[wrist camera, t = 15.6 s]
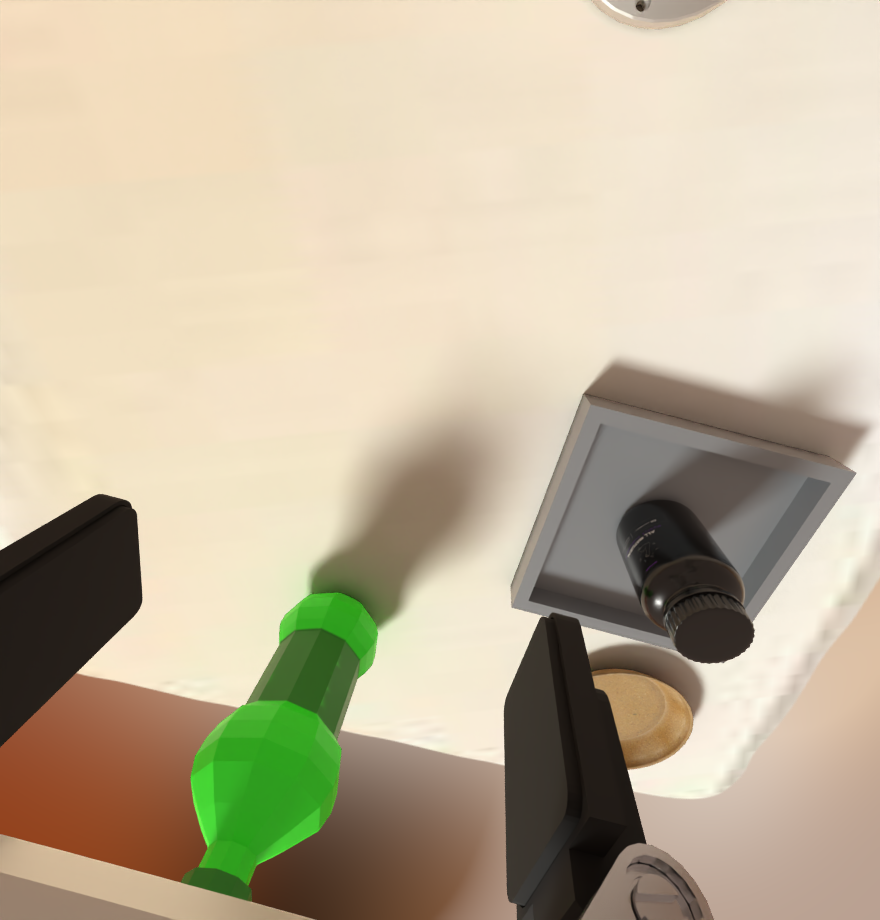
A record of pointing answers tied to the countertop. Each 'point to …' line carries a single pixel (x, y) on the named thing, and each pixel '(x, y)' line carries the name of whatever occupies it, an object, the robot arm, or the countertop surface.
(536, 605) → the tray
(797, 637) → the countertop surface
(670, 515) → the supplement bottle
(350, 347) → the countertop surface
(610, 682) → the plant saucer
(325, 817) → the plastic bottle
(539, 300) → the countertop surface
